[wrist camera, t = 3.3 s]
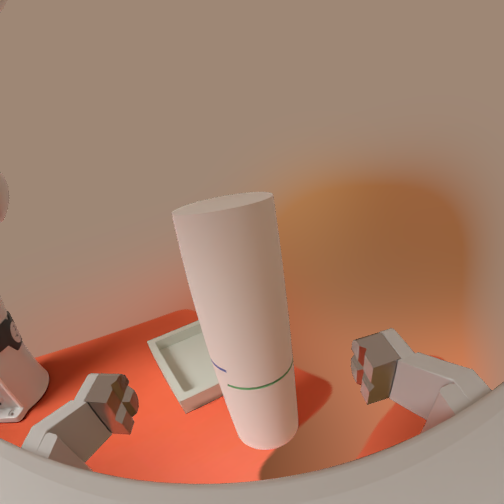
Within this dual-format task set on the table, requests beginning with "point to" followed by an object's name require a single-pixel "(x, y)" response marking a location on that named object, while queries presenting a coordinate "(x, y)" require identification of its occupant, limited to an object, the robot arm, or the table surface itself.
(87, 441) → the robot arm
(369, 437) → the table surface
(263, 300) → the cylindrical container
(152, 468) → the table surface
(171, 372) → the tray
